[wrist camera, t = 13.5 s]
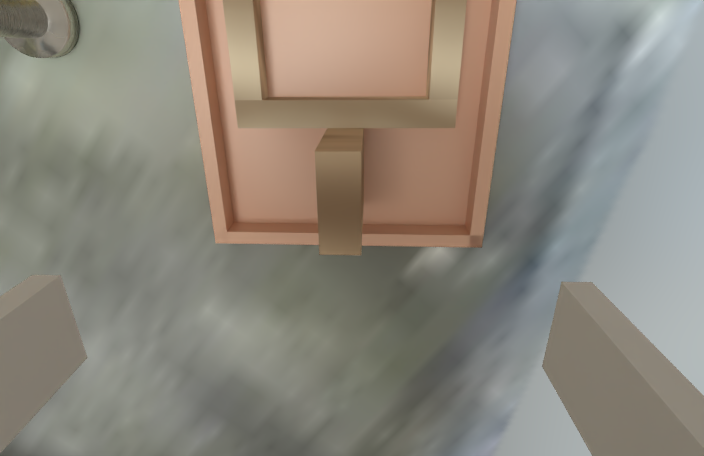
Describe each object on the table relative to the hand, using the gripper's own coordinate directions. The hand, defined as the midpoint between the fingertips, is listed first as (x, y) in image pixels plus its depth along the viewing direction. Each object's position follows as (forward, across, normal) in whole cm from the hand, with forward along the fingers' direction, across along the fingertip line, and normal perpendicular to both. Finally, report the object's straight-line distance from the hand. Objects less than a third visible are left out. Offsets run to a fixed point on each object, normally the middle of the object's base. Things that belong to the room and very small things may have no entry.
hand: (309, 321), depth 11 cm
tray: (+16, 0, -6) cm, 17 cm away
